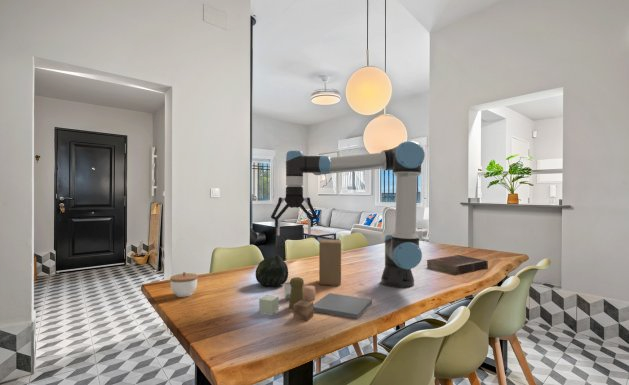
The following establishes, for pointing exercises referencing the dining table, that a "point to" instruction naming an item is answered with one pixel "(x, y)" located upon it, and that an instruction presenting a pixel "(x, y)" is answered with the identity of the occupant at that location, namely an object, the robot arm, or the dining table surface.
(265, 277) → the squash
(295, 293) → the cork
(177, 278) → the lidded jar
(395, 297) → the dining table surface
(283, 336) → the dining table surface
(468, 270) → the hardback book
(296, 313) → the walnut block
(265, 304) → the sage block
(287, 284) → the metal tin
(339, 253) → the wooden block
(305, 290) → the peach rounded capsule
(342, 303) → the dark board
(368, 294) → the dining table surface
